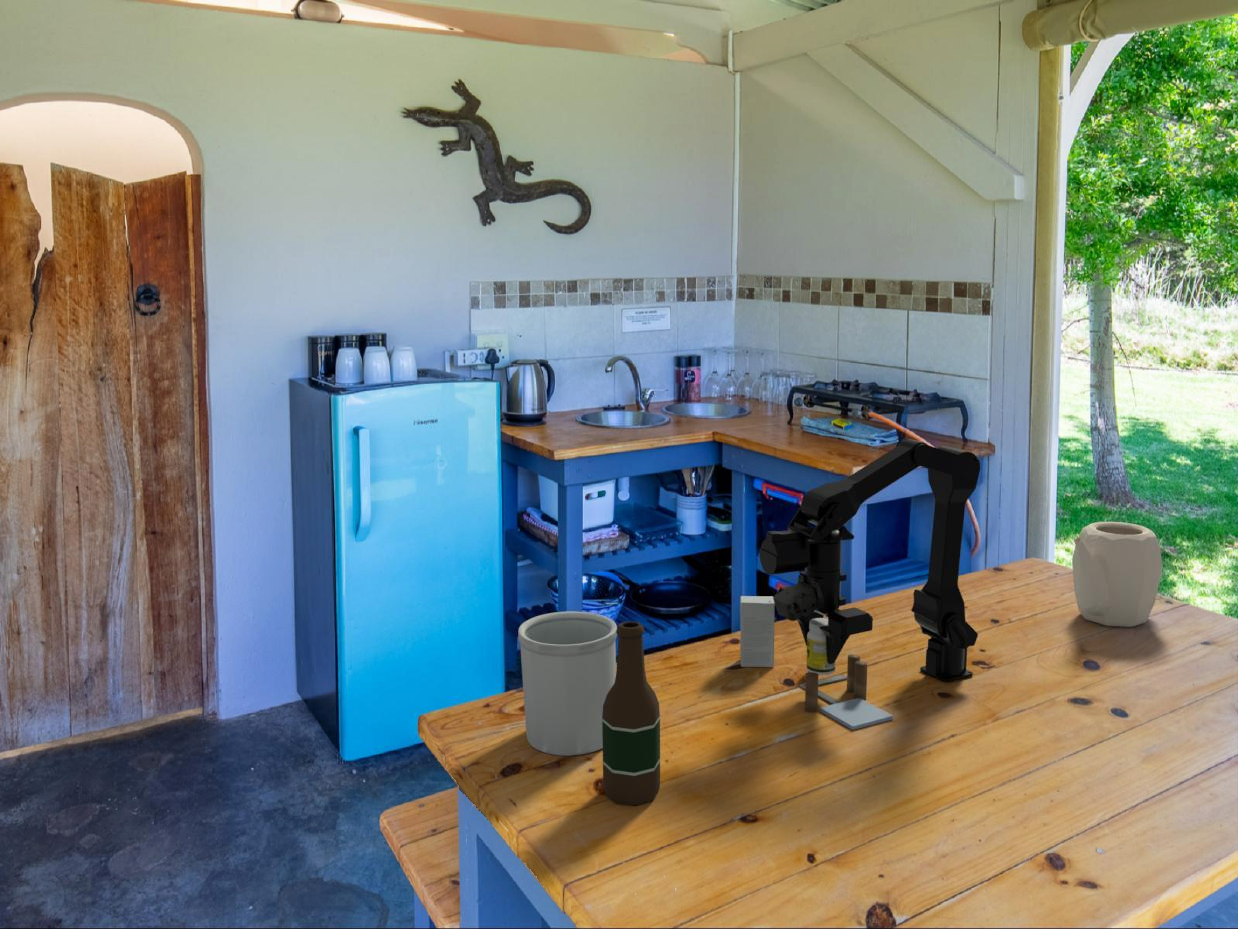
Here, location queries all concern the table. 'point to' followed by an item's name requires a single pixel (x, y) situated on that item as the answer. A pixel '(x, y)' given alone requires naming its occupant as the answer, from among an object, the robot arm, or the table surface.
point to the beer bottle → (631, 726)
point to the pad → (856, 713)
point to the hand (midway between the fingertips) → (821, 658)
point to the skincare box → (757, 631)
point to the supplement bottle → (818, 648)
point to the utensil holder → (567, 679)
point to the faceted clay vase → (1116, 573)
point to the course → (854, 681)
